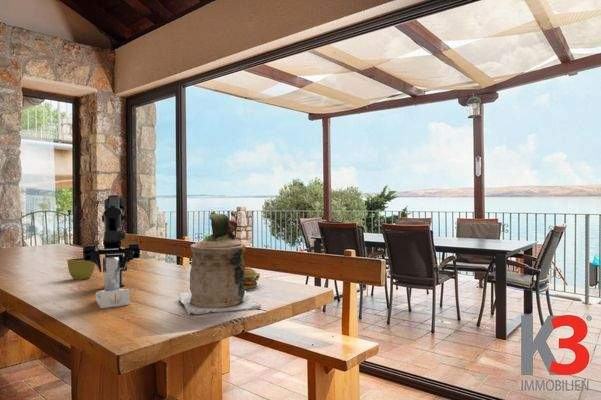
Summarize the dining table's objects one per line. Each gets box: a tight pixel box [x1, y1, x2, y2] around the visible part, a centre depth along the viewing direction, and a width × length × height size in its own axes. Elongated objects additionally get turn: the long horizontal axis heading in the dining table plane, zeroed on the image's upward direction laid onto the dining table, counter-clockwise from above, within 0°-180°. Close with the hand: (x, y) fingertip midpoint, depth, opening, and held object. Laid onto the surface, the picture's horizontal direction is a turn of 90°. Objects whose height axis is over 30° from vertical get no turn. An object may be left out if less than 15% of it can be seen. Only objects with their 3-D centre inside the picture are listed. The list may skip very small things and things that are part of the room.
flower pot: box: [66, 257, 96, 281], centre depth 190 cm, size 9×9×9 cm
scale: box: [95, 288, 131, 309], centre depth 146 cm, size 13×10×5 cm
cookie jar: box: [178, 211, 263, 316], centre depth 144 cm, size 25×25×32 cm
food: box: [242, 266, 261, 290], centre depth 172 cm, size 14×14×8 cm
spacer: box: [103, 257, 121, 291], centre depth 147 cm, size 5×5×12 cm
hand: (111, 271), depth 145 cm, fingers open, 7 cm apart
